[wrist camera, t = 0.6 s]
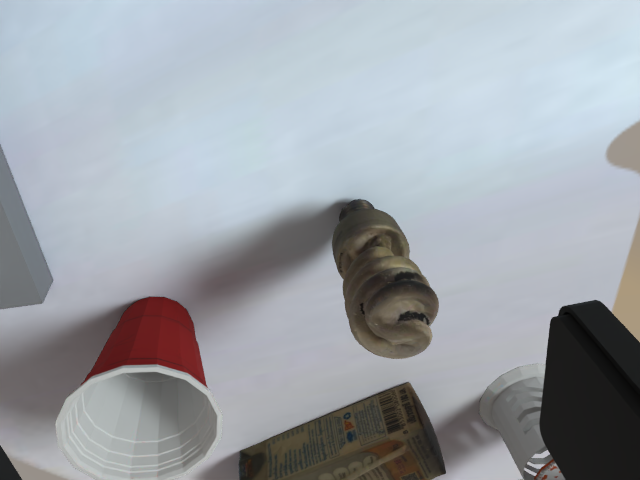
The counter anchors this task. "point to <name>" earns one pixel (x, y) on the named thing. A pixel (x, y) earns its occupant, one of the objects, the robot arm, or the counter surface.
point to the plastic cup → (143, 401)
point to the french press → (520, 418)
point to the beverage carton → (353, 444)
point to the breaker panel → (19, 249)
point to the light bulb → (382, 284)
